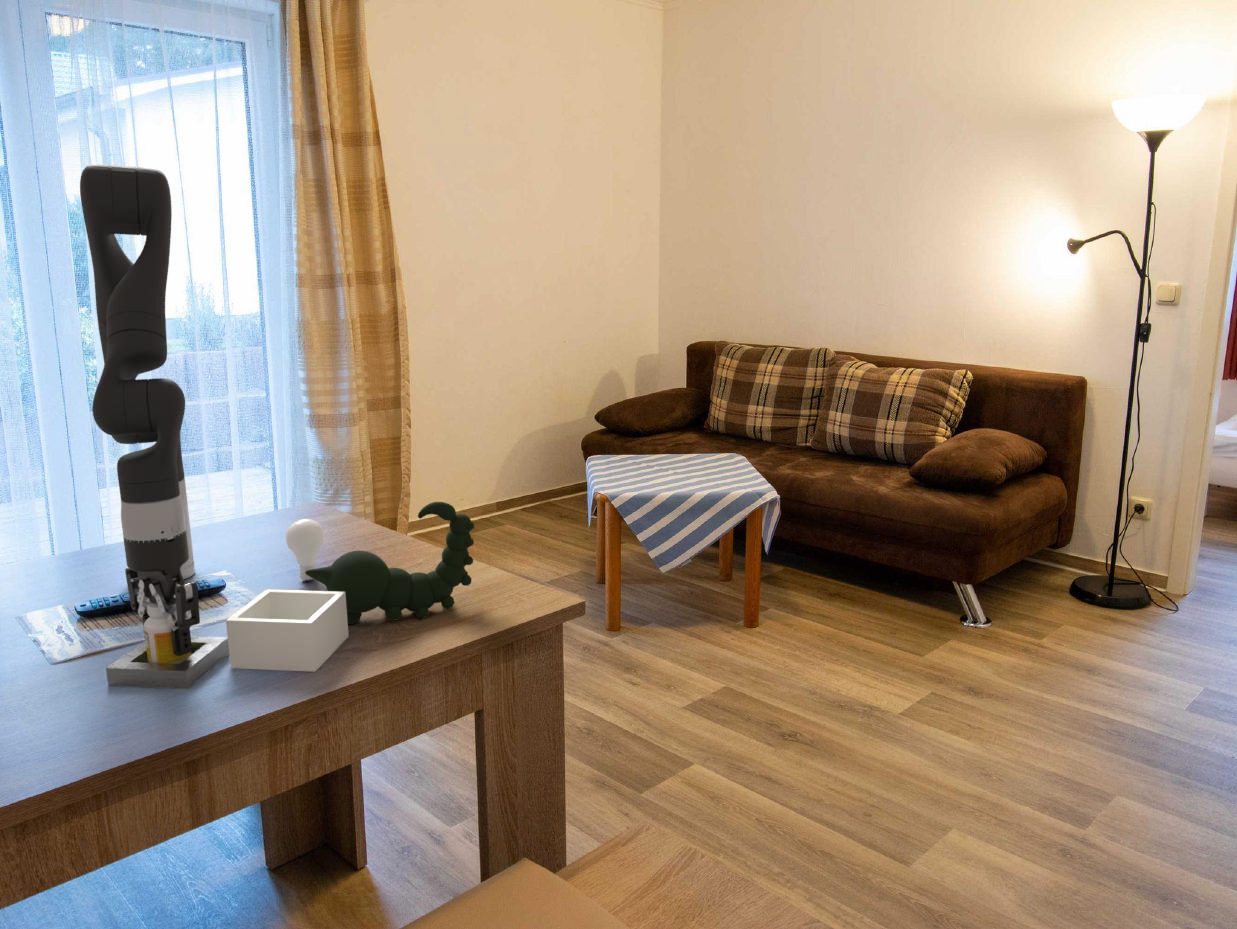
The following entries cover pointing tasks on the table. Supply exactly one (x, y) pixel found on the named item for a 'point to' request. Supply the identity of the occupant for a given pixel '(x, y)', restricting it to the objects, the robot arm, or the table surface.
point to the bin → (287, 630)
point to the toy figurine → (402, 574)
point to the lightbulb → (305, 543)
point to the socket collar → (168, 666)
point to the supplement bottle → (160, 637)
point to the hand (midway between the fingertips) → (168, 647)
